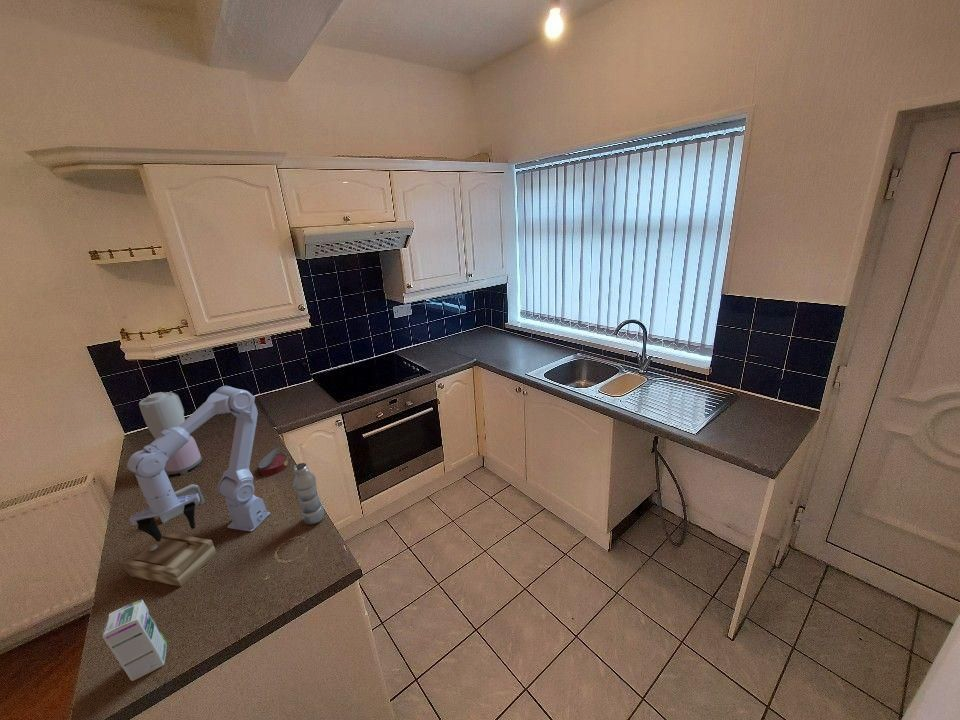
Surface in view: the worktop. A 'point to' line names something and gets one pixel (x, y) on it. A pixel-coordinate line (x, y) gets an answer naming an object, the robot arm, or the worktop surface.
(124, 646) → the syrup box
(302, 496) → the plastic bottle
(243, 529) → the robot arm
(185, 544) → the lid plate
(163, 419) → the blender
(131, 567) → the oak box
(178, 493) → the arched grey pull
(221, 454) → the worktop surface
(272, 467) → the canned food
